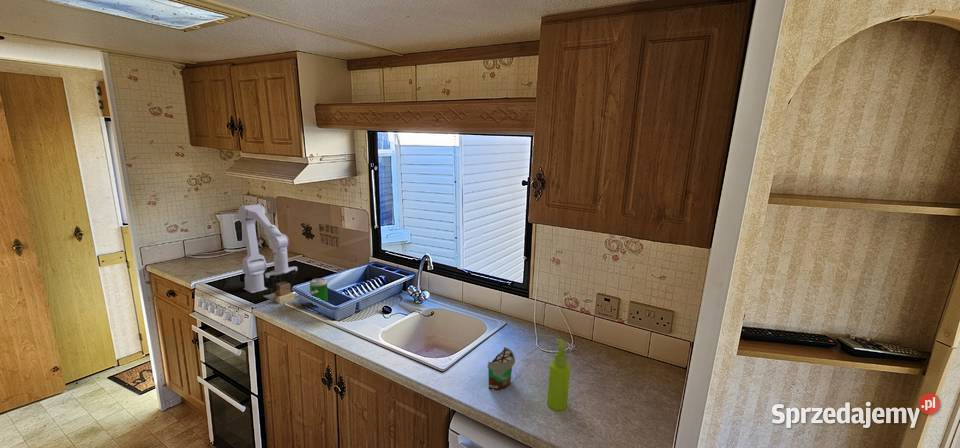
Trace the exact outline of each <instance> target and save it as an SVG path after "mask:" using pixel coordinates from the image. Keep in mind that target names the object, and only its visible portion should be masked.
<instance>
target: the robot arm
mask: <svg viewBox="0 0 960 448" xmlns="http://www.w3.org/2000/svg"><path fill="white" fill-rule="evenodd" d="M237 211H238V217H239V222H240V223H242V227H243V234H244V241H245V246H246V252H247V254H246V256H245V257H244V258H243V259H242V260H241V263H242V266H241V269H242V272H243V273H244V288H243V290H246V291H247V292H249V293H252V294H253V293H257V292H262V291H265V290H268V287H265V280H264V279H265V278H266V279H267V280H268V281H269V284H270V286H271V288H272V291H273V292H275V291H277V287H276V283H278V277H276V276H279V275H284V274H286V275H287V282H288V283H290V286H291V288H293V285H294V280H295V278H296V276H297V274H298V273H297V271H298V266H297V265H296V266H289V261H288V259H289V258H288V247H289V246H290V239H289V237H288V235H286V234H284V233H281V231H280V229H278V227H277V226H276V225H275V224H271V222H270V220H269V218H268V217H267V215H266V209H265V206H263V204H262V203H257V204H249V205H241V206H240V207H239V208H238V210H237ZM256 222H257V223H258V224H259V225H260V226H261V227H262V228H263V234H265V236H266V237H267V239H268V240H269V244H270V247H271V251H272V253H273V264H274V270H271V271H269V272H265V271H266V270H267V268H268V263H267V261H266V258H265V256H264V255H262V254H260V252H259V251H260V250H259V244H258V238H257V237H258V236H257V232H256V225H255V223H256ZM264 277H265V278H264Z"/></svg>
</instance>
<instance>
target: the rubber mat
mask: <svg viewBox="0 0 960 448" xmlns="http://www.w3.org/2000/svg"><path fill="white" fill-rule="evenodd" d="M274 293H275V292H273V293H270V294H266V295H263V297H264V298H266V299H267V300H270V301H272V294H274ZM295 295H296V294H295ZM295 295H294V300H298V299H299V298H298V297H297V296H298V295H297V296H295ZM272 302H274V303H276V304H278V305H280V303H278V302H276V301H274V300H273V301H272ZM287 302H289V301H287ZM287 302H286V303H287Z"/></svg>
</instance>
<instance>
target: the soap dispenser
mask: <svg viewBox="0 0 960 448" xmlns="http://www.w3.org/2000/svg"><path fill="white" fill-rule="evenodd" d="M555 342H556V344H557V346H558V350H557V352H555V355H554V360H552V361H551V362H550V364H549V365H550V366H549V377H548V388H547V389H548V390H547V402H546V404H547V406H548V408H550V409H551V408H552V409H551V410H553V409H554V411H557V410H562V411H564V409H565V410H566V409H567V408H566V407H568V399H569V398H568V396H569V388H570V387H569V385H570V384H569V383H570V372H571V365H570V364H569V362H567V359H568V358H567V357H568V355H567V353H565V349H567V346H566V345H567V344H565V341H564V340H563V338H562V339H561V338H555Z"/></svg>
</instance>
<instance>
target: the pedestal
mask: <svg viewBox="0 0 960 448" xmlns="http://www.w3.org/2000/svg"><path fill="white" fill-rule="evenodd" d="M273 293H274V294H272V293H271V294H272V300H274V301H276V302H278V303H280V304H284V303H287V301H288V302H290V301H291V302H292V301H294V300H295V299H294V294H295V293H294V292H292V291H291V294H288V295H284V296H279V295H276V294H275V292H273ZM272 300H271V301H272ZM274 301H273V302H274ZM276 302H275V303H276ZM278 303H277V304H278ZM280 304H279V305H280Z"/></svg>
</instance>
